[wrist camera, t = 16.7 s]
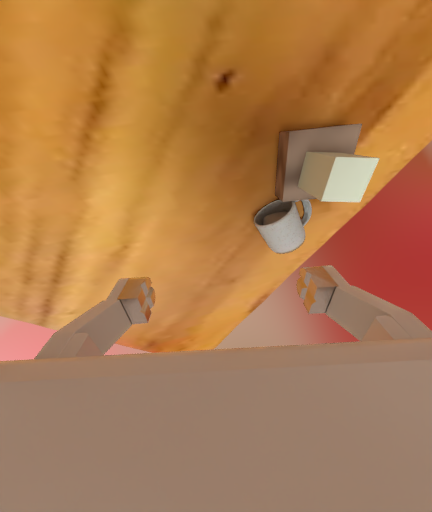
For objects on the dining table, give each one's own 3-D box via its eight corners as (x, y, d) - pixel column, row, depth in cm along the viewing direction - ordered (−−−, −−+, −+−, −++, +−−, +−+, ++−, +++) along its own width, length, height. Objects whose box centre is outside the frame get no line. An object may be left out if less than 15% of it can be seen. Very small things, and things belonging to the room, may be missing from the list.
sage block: (306, 151, 28) (336, 156, 21) (339, 152, 28) (379, 158, 21) (297, 186, 30) (321, 201, 24) (327, 187, 31) (359, 202, 24)
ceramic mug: (267, 244, 42) (278, 263, 35) (249, 215, 38) (258, 231, 31) (313, 217, 39) (335, 233, 32) (299, 183, 35) (319, 193, 28)
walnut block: (279, 132, 31) (289, 131, 26) (341, 125, 30) (362, 123, 26) (274, 194, 36) (282, 201, 32) (327, 188, 36) (342, 196, 31)
